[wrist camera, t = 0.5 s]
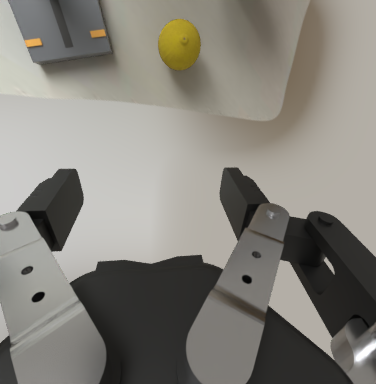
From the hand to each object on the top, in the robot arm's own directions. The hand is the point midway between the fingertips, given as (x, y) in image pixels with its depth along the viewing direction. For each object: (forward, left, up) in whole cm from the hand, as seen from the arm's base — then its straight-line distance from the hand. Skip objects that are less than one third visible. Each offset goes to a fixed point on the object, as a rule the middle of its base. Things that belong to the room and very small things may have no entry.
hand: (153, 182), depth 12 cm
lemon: (-10, +7, -26) cm, 29 cm away
